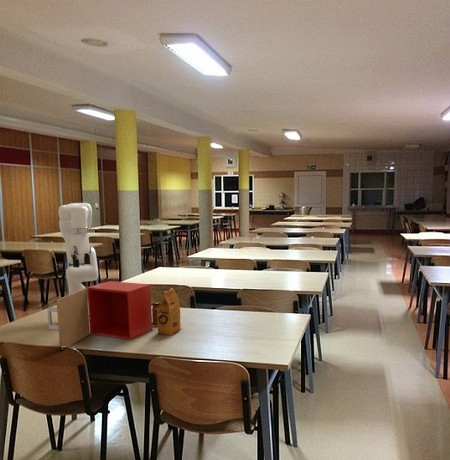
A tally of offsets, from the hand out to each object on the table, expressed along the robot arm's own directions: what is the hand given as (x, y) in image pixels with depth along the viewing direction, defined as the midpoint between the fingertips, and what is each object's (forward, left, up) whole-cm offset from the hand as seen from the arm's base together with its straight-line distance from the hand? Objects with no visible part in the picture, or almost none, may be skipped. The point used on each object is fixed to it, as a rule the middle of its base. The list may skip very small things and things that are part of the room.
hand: (81, 265), depth 242 cm
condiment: (+21, +32, -36) cm, 53 cm away
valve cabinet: (+12, +13, -36) cm, 40 cm away
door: (-1, -10, -36) cm, 38 cm away
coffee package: (+35, +23, -36) cm, 56 cm away
